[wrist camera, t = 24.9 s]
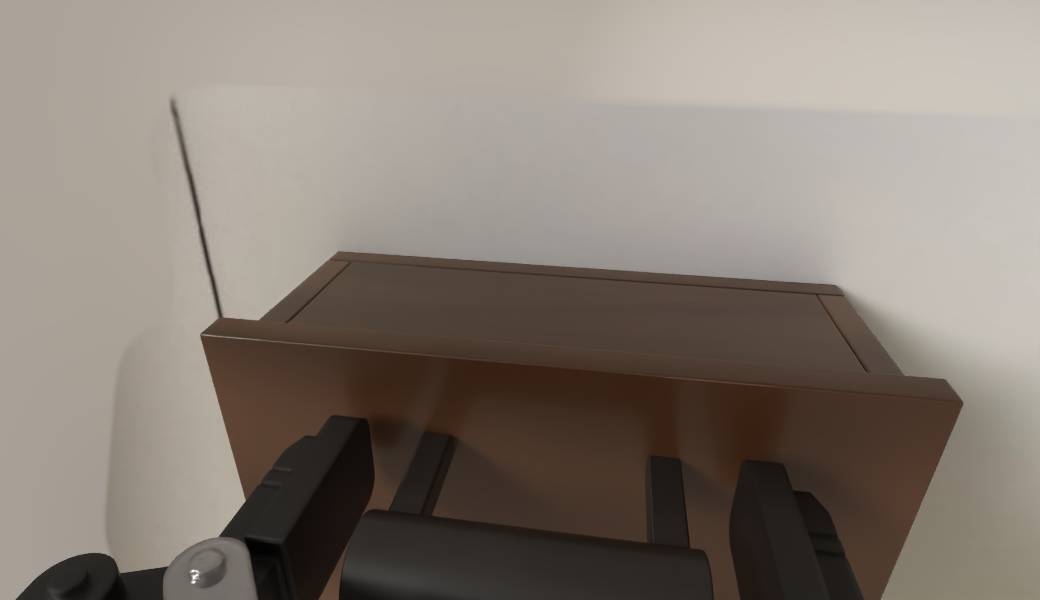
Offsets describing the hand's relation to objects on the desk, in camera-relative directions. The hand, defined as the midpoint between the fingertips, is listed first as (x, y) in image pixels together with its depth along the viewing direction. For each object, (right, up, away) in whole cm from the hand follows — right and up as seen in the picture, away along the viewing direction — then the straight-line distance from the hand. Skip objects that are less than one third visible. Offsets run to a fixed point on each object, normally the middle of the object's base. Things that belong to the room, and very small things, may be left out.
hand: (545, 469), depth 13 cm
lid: (0, -4, +3) cm, 5 cm away
